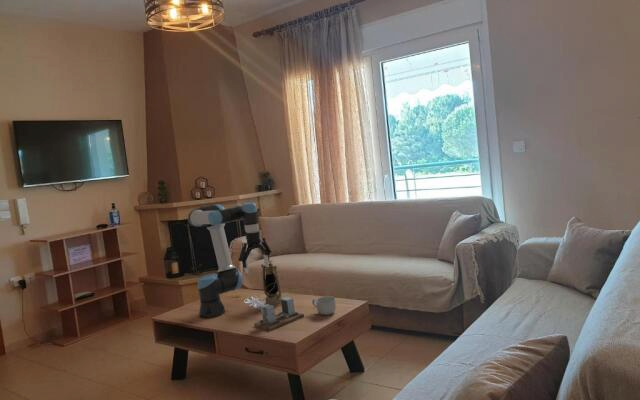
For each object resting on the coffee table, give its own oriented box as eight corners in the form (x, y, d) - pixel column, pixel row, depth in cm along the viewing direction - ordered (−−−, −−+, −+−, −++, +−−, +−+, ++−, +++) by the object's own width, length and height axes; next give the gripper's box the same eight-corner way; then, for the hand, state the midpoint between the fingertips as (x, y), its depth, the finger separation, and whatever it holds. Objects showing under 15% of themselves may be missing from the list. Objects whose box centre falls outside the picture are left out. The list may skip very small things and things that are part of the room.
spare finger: (288, 312, 262) (286, 296, 261) (295, 314, 257) (293, 298, 256) (282, 314, 259) (280, 299, 258) (289, 316, 254) (286, 300, 253)
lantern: (259, 306, 285) (252, 257, 283) (273, 300, 294) (266, 253, 291) (275, 309, 276) (268, 259, 273) (289, 302, 284) (283, 254, 281)
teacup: (340, 311, 258) (339, 297, 257) (327, 318, 250) (325, 303, 249) (322, 308, 267) (320, 294, 266) (309, 314, 259) (307, 300, 258)
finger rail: (254, 326, 251) (252, 307, 250) (288, 312, 267) (285, 294, 266) (270, 331, 241) (267, 311, 240) (304, 316, 256) (301, 298, 255)
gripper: (266, 226, 264) (270, 263, 266) (228, 236, 247) (234, 275, 249) (274, 227, 259) (279, 264, 261) (237, 236, 242) (242, 276, 244)
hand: (257, 269), depth 255 cm, fingers open, 13 cm apart
